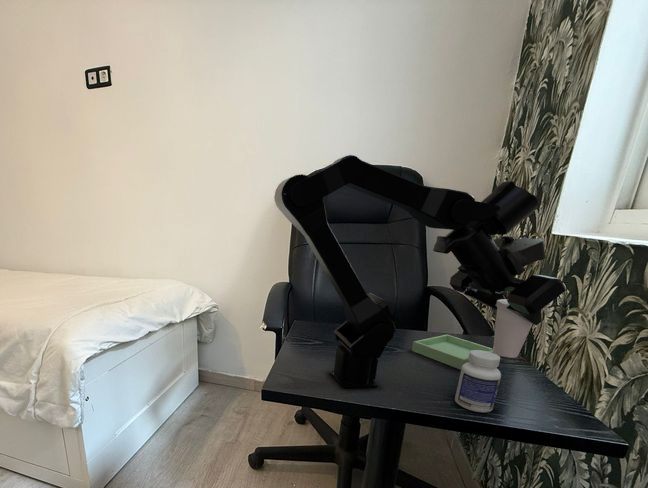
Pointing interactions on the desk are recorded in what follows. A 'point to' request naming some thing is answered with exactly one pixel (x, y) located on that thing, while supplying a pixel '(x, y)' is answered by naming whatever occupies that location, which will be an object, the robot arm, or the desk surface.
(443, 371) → the desk surface
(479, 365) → the pill bottle
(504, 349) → the smoothie
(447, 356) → the tray
